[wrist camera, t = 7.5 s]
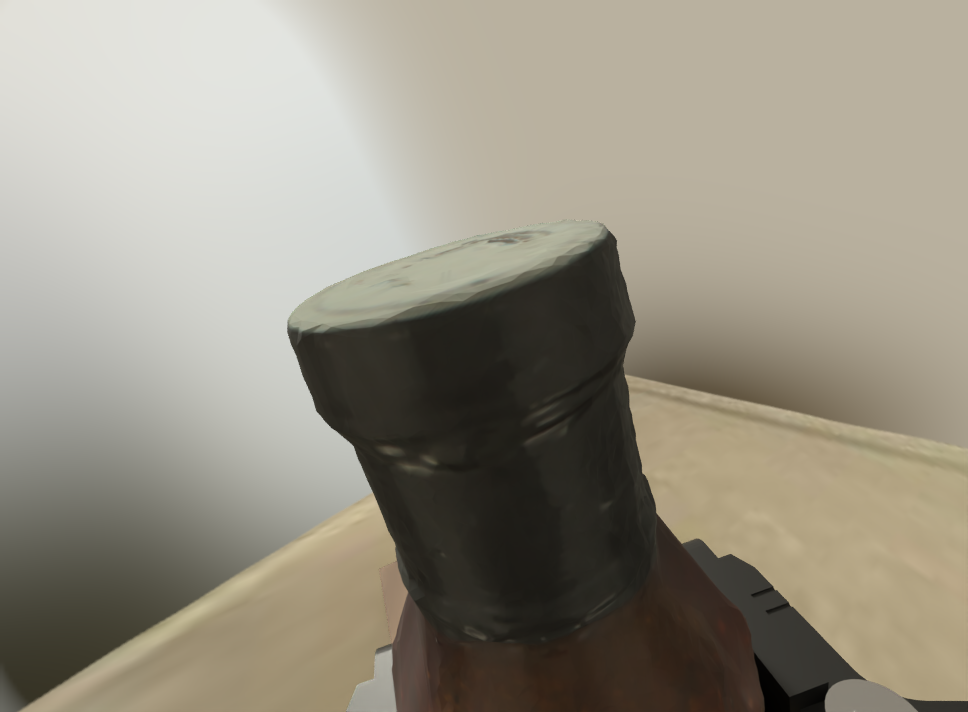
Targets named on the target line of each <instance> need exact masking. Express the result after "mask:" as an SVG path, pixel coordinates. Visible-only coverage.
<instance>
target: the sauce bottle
mask: <svg viewBox="0 0 968 712" xmlns="http://www.w3.org/2000/svg"><path fill="white" fill-rule="evenodd" d="M616 246H617V240H616V238H615V237H614V236H613V234H612V233H611V232H610V231H608V229H607V228H606V227H605V225H604V224H602V223H600V222H596V221H588V220H584V221H575V220H562V221H558V222H553V223H542V224H536V225H530V226H526V227H521V228H516V229H512V230H508V231H500V232H494V233H490V234H485V235H477V236H474V237H471V238H468V239H464V240H459V241H455V242H451V243H448V244H446V245H443V246H439V247H435V248H432V249H429V250H426V251H423V252H420V253H417V254H414V255H411V256H408V257H405V258H402V259H399V260H395V261H392V262H389V263H386V264H384V265H381V266H378V267H375V268H372V269H369V270H367V271H364V272H361V273H359V274H357V275H354V276H352V277H350V278H348V279H345V280H343V281H340V282H338V283H336V284H333V285H331V286H329V287H327V288H325V289H323V290H322V291H320V292H318V293H317V294H315V295H313V296H312V297H310V298H308V299H307V300H305V301H304V302H303V303H302V304H301V305H299V306H298V307H297V308H296V309H295V310H294V311H293V312H292V314H291V315H290V317H289V319H288V328H287V329H288V331H287V332H288V336H289V339H290V342H291V345H292V347H293V349H294V351H295V354H296V356H297V359H298V362H299V365H300V369H301V372H302V375H303V377H304V380H305V382H306V384H307V386H308V389H309V390H310V393H311V395H312V397H313V401H314V404H315V408H316V411H317V412H318V413H319V414H320V415H321V417H322V418H323V419H324V421H325V422H326V423H327V424H328V425H329V426H330V427H331V428H332V429H334V430H336V431H337V432H338V433H339V434H340V435H341V436H343V437H344V438H345V439H346V440H348V441H349V442H350V443H351V444H352V445H353V446H354V448H355V451H356V454H357V457H358V460H359V461H360V463H361V466H362V468H363V471H364V473H365V476H366V478H367V480H368V482H369V485H370V487H371V489H372V491H373V493H374V495H375V498H376V500H377V503H378V505H379V508H380V510H381V513H382V515H383V518H384V520H385V523H386V526H387V528H388V531H389V533H390V535H391V536H392V538H393V540H394V542H395V545H396V549H395V550H396V558H397V563H398V569H399V572H400V575H401V579H402V582H403V584H404V586H405V587H406V589H407V591H408V593H407V597H406V600H405V603H404V607H403V610H402V614H401V617H400V621H399V624H398V628H397V633H396V636H395V639H394V641H393V644H392V660H393V665H392V676H393V684H394V692H395V701H396V709H397V712H765V707H764V696H763V693H762V690H761V687H760V682H759V676H758V670H757V666H756V663H755V660H754V651H753V648H752V642H751V633H750V630H749V627H748V624H747V621H746V618H745V617H744V616H743V613H742V612H741V611H740V609H739V608H738V607H737V606H736V605H734V604H733V603H732V602H731V601H730V600H729V599H728V598H727V597H726V596H725V595H724V594H723V593H722V592H721V591H720V590H719V589H718V588H717V586H716V585H715V584H714V583H713V582H712V580H711V579H710V578H709V577H708V576H707V574H706V573H705V572H704V571H703V570H702V568H701V567H700V566H699V565H698V563H697V562H696V561H695V560H694V559H693V557H692V556H691V555H690V554H689V553H688V551H687V550H686V549H685V548H684V546H683V545H682V544H681V543H680V542H679V540H678V539H677V538H676V537H675V535H674V534H673V533H672V532H671V531H670V529H669V528H668V527H667V526H666V524H665V523H664V522H663V521H662V520H661V518H660V517H659V516H658V515H657V513H656V505H655V501H654V498H653V495H652V493H651V489H650V486H649V483H648V480H647V478H646V476H645V475H644V474H642V464H641V460H640V456H639V451H638V447H637V443H636V433H635V429H634V425H633V420H632V413H631V411H630V408H629V390H628V385H627V382H626V379H625V375H624V368H623V362H624V357H625V353H626V348H627V346H628V343H629V341H630V340H631V338H632V336H633V332H634V326H635V322H636V321H635V317H634V314H633V310H632V306H631V303H630V300H629V296H628V292H627V287H626V283H625V280H624V277H623V275H622V272H621V269H620V262H619V255H618V251H617V247H616Z"/></svg>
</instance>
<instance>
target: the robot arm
mask: <svg viewBox="0 0 968 712" xmlns="http://www.w3.org/2000/svg"><path fill="white" fill-rule="evenodd" d="M682 545H683V546H684V548H685V549H686V550H687V551H688V553H689V554H690V555H691V556H692V557H693V559H694V560H695V561H696V562H697V563H698V565H699V566H700V567H701V568H702V570H703V571H704V572H705V573H706V574H707V576H708V577H709V578H710V579H711V580H712V582H713V583H714V584H715V585H716V586H717V588H718V589H719V590H720V591H721V592H722V593H723V594H724V595H725V596H726V597H727V598H728V599H729V600H730V601H731V602H732V603H733V604H734V605H736V606H737V607H738V608H739V609H740V611H741V612H742V613H743V616H744V617H745V618H746V621H747V624H748V627H749V630H750V633H751V642H752V648H753V651H754V660H755V663H756V666H757V670H758V676H759V682H760V687H761V690H762V693H763V696H764V707H765V712H968V701H920V700H912V699H907V698H903V697H901V696H900V695H898V694H897V693H895V692H894V691H892V690H890V689H888V688H886V687H884V686H882V685H879V684H877V683H874V682H870V681H867V680H866V679H864V678H863V677H862V676H860V675H859V674H858V673H857V672H856V671H855V670H854V669H853V668H852V667H851V666H850V665H849V664H848V663H847V662H846V661H845V660H844V659H843V658H842V657H841V656H840V655H839V654H838V653H837V652H836V651H835V650H834V649H833V648H832V647H831V646H830V645H829V644H828V643H827V642H826V641H825V640H824V639H823V637H822V636H821V635H820V634H819V633H818V632H817V631H816V630H815V629H814V628H813V627H812V626H811V625H810V624H809V623H808V622H807V621H806V620H805V619H804V618H803V617H802V616H801V615H800V614H799V613H798V612H797V611H796V610H795V609H794V608H793V607H791V606H790V605H789V602H788V601H787V600H786V599H785V598H784V597H783V596H782V595H781V594H780V593H779V592H778V591H777V590H776V591H775V590H774V588H773V586H772V585H771V584H770V583H769V582H768V581H767V580H766V579H765V578H764V577H763V576H762V574H761V573H760V572H759V571H758V570H757V569H756V568H755V567H753V566H751V565H749V564H748V563H746V562H744V561H742V560H740V559H739V558H737V557H735V556H733V555H732V554H729V555H726V556H723V557H721V558H717V556H716V555H715V554H714V553H713V552H712V551H711V550H710V549H709V547H708V546H707V545H706V544H705V543H704V542H703V541H702V540H700V539H694V540H691V541H688V542H686V543H683V544H682ZM392 644H393V643H392ZM392 644H389V645H386V646H384V647H381V648H378V649H377V650H376V653H375V669H374V679H372V680H369V681H366V682H363V683H360V684H358V685H357V686H356V689H355V691H354V694H353V696H352V698H351V701H350V703H349V706H348V708H347V710H346V712H397V709H396V701H395V692H394V684H393V676H392V665H393V660H392Z"/></svg>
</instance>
